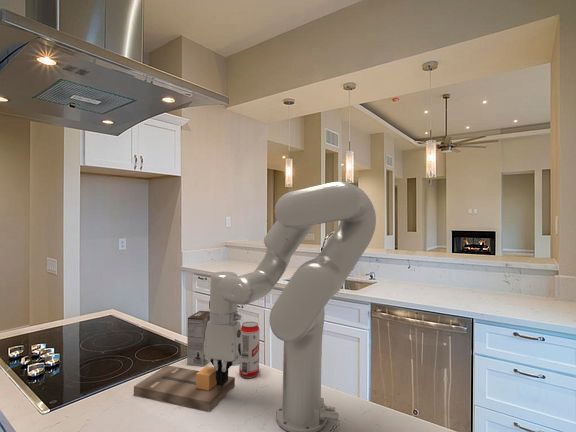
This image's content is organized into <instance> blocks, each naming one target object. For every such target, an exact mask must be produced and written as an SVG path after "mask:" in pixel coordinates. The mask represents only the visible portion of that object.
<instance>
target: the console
mask: <svg viewBox="0 0 576 432" xmlns="http://www.w3.org/2000/svg"><path fill="white" fill-rule="evenodd" d="M199 371H200V370H195V369H190V368H185V367H178V366H174V365H173V366H172V365H165V366H164V367H162V368H161V369H158V370H157V371H155V372H154V373H153V374H151V375H149V376H148V377H146V378H145V379H143V380H142V381H141V380H140V381H139V382H138V383H136V384H135V385H134V386H133V396H136V397H141V398H146V399H147V400H149V399H150V400H153V401H159V402H162V403H168V404H172V405H176V406H181V407H186V408H188V409H189V408H190V409H194V410H198V411H204V412H208V413H210V412H211V411H212V410H213V409H214V408H215V407H216V406H217V405H218V404H219V403H220V402H221V401H222V400H223V399H224V398H225V397H226V395H227V394H228V393H230V391H231V390H232V389H233V388H234V387H235V386H236V384H235V382H236V377H235V376H230V375H228V381H227V382H226V383H225V384H224V385H223V386H220V385H219V386H217V385H214V386H213V387H212V388H211V389H210V390H209V391H208V390H203V389H198V388H196V373H198V372H199Z"/></svg>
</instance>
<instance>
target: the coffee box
mask: <svg viewBox="0 0 576 432" xmlns="http://www.w3.org/2000/svg"><path fill="white" fill-rule="evenodd" d="M209 320H210V310H198V311H197V312H196V313H193V314H192V315H190V316H188V317H187V339H186V340H187V342H186V344H187V345H186V347H187V349H186V350H187V353H186V359H187V361H186V363H187V365H188V366H198V367H205V366H207V364H208V363H209V361H207V360H205V359H204V357H205V355H204V339H205V332H206V327H207V323H208V321H209Z"/></svg>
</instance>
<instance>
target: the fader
mask: <svg viewBox="0 0 576 432" xmlns="http://www.w3.org/2000/svg"><path fill="white" fill-rule="evenodd" d="M198 371H199V372H198V373H196V388H198V389H203V390H208V391H209V390H210V389H211V388H212V387H213V386H214V385H216V370H214V366H210V365H205V366H203V368H201V370H198Z"/></svg>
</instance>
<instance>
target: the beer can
mask: <svg viewBox="0 0 576 432" xmlns="http://www.w3.org/2000/svg"><path fill="white" fill-rule="evenodd" d="M241 331H242V343H243V353H242V355H241V356H240V360H241V363H240V364H239V365H238V366H239V367H238V368H239V369H238V370H239V374H240V376H241V377H242V378H245V379H253V378H255V377H257V375H258V374H259V373H260V334H261V333H260V332H261V330H260V327H259V324H258V322H257V321H245V322H242V323H241Z"/></svg>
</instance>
